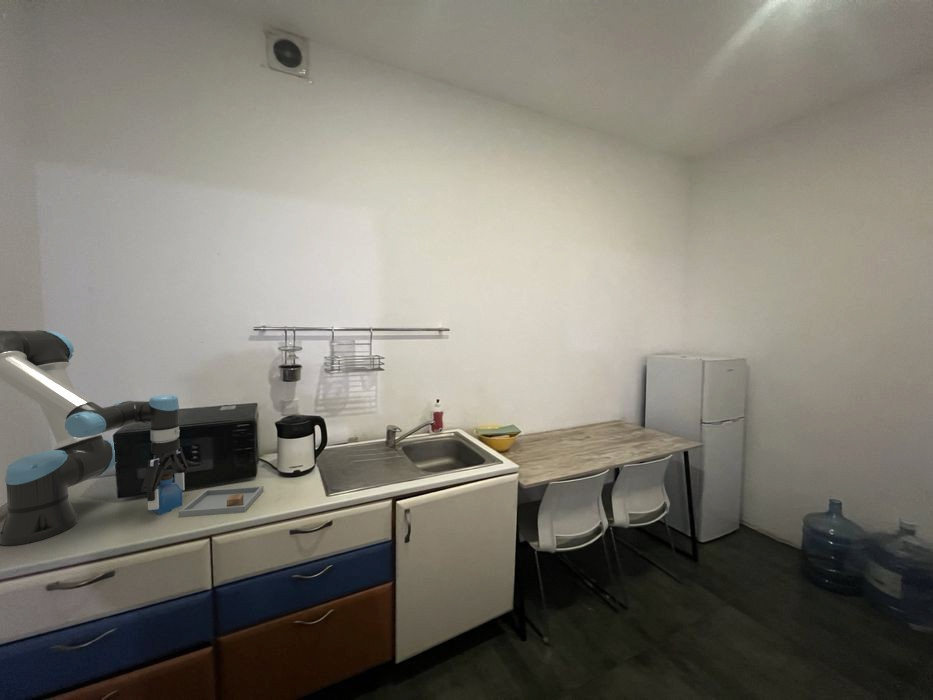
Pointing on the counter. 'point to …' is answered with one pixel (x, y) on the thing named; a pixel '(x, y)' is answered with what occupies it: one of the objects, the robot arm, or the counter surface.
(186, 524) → the counter surface
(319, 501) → the counter surface
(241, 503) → the walnut block
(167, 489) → the perfume bottle
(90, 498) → the counter surface
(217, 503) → the tray
